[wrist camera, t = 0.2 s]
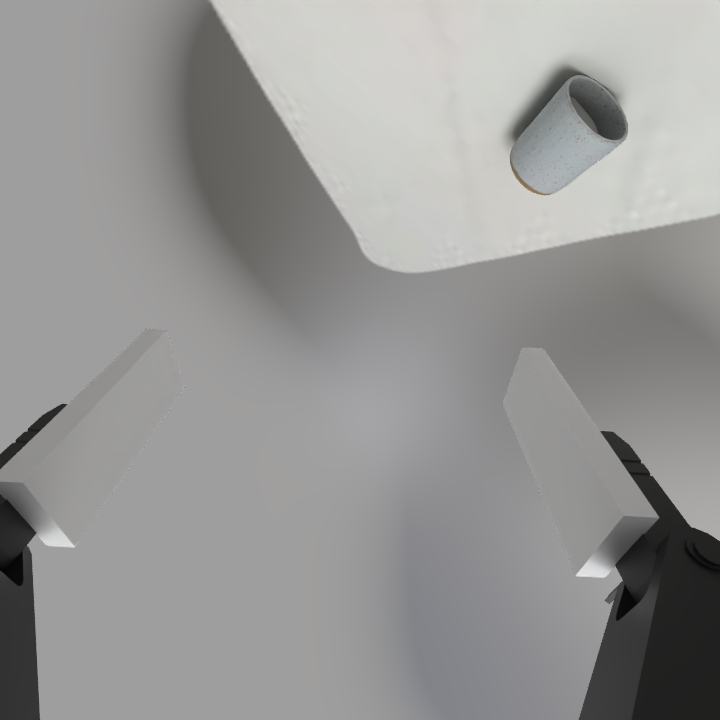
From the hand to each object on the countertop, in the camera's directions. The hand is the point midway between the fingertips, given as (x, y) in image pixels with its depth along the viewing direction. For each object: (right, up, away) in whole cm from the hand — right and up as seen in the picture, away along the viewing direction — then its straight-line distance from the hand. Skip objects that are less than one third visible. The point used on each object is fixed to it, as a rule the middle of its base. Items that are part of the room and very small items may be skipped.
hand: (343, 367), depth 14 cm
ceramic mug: (+23, +26, +24) cm, 42 cm away
